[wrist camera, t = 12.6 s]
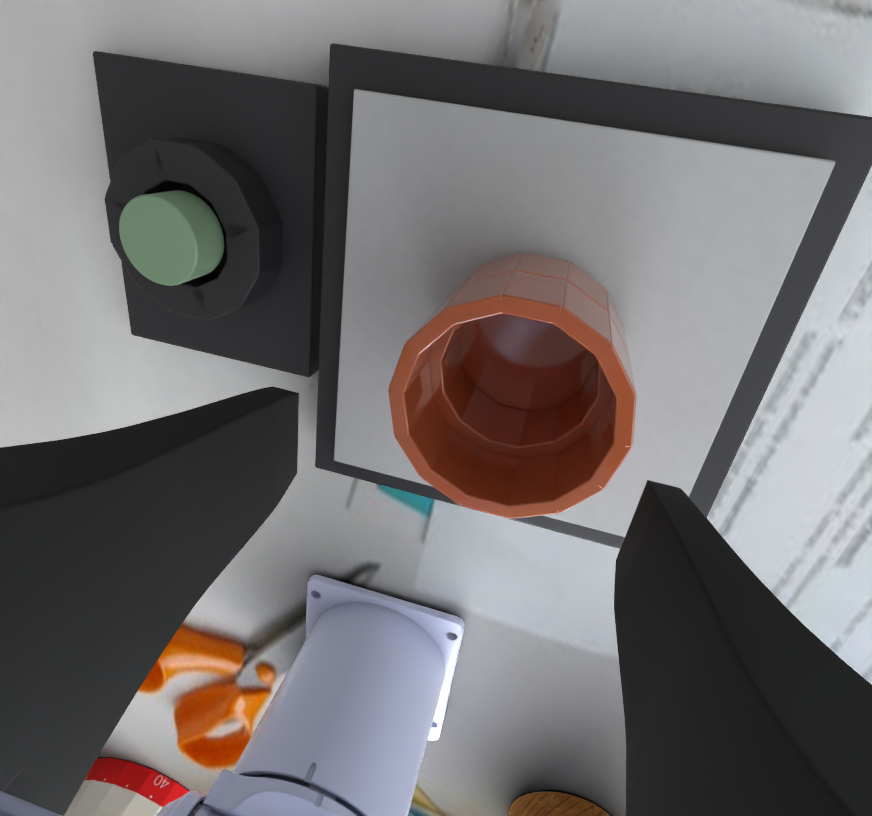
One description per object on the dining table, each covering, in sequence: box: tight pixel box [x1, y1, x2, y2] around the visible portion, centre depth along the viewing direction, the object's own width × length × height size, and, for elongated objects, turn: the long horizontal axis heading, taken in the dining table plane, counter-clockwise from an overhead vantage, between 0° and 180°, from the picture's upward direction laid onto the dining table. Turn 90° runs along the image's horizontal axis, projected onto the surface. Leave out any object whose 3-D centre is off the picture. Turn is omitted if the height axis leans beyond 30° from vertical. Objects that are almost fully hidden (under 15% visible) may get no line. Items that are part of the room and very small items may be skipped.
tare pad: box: [93, 51, 329, 377], centre depth 19 cm, size 10×8×2 cm
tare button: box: [119, 190, 224, 286], centre depth 18 cm, size 3×3×2 cm
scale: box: [315, 43, 872, 549], centre depth 18 cm, size 14×14×3 cm
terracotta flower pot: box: [388, 253, 636, 519], centre depth 14 cm, size 5×6×5 cm
